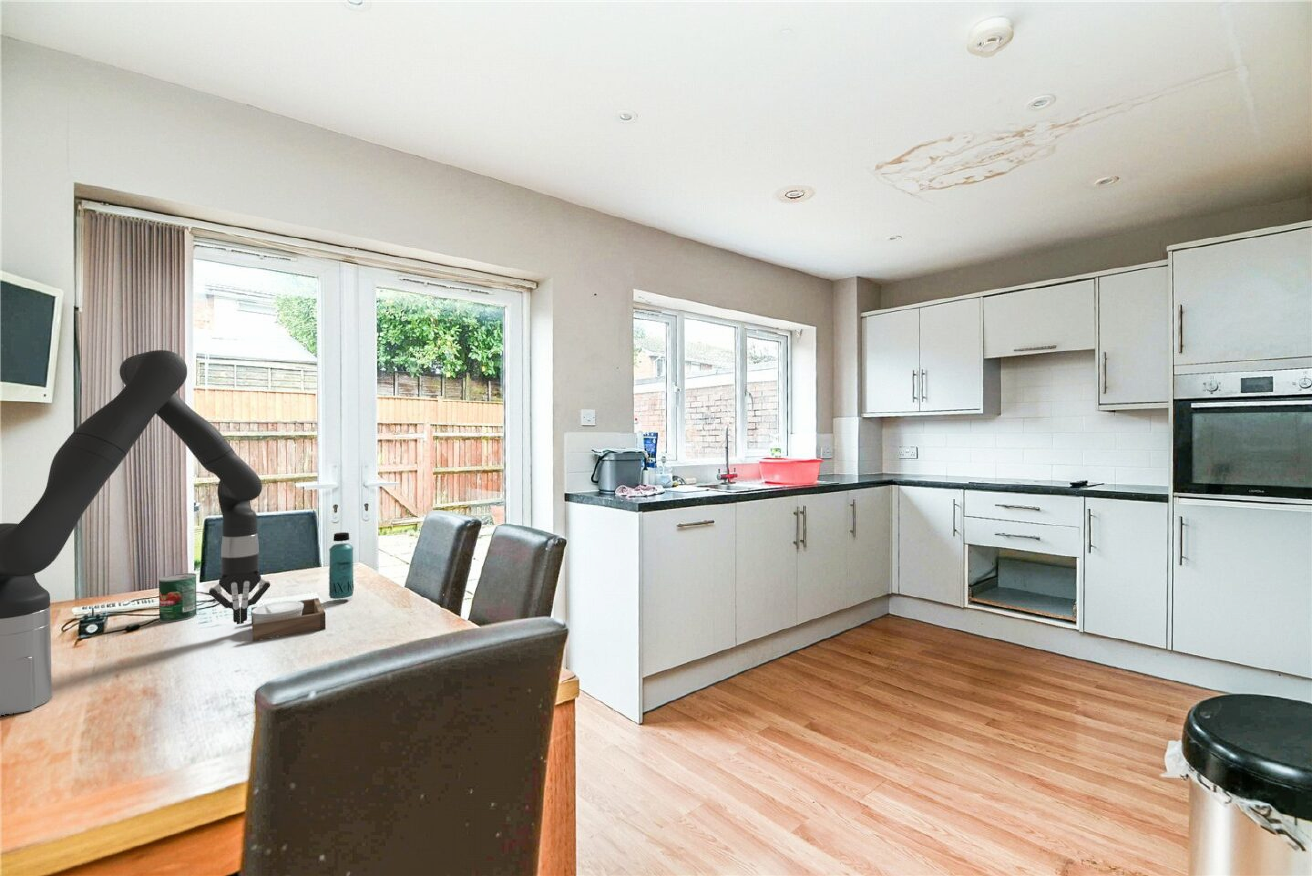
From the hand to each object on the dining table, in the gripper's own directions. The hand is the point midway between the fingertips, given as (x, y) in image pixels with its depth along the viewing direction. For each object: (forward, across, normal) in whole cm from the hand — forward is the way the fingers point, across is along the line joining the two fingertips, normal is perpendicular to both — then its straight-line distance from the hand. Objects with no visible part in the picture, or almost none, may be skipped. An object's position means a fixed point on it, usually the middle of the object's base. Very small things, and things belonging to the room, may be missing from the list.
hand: (240, 623), depth 147 cm
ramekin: (+3, +8, 0) cm, 8 cm away
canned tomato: (+3, -14, +25) cm, 28 cm away
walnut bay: (+2, +9, 0) cm, 10 cm away
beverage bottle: (+2, +24, +17) cm, 30 cm away
